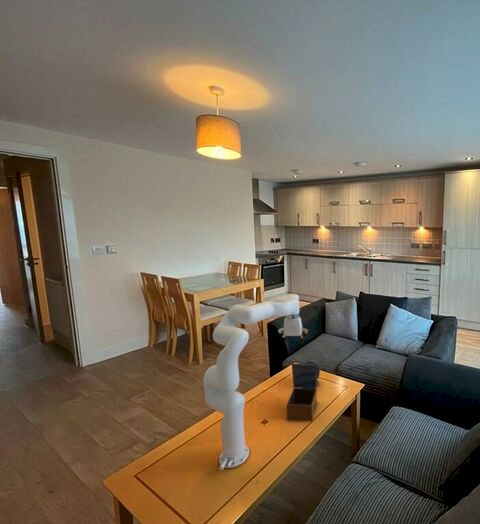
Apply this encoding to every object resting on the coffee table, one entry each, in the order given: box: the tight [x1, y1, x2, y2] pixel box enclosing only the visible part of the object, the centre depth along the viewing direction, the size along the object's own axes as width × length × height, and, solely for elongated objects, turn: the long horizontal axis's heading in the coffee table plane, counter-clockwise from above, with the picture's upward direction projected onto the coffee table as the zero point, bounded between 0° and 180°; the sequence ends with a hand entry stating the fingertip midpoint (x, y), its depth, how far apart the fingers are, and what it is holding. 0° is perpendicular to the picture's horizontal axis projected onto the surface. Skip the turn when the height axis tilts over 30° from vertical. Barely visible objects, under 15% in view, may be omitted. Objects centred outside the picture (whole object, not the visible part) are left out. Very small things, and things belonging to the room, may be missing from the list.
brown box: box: [286, 387, 318, 422], centre depth 160 cm, size 16×14×9 cm
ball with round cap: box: [303, 361, 321, 389], centre depth 185 cm, size 13×13×15 cm
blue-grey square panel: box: [291, 363, 318, 389], centre depth 164 cm, size 16×14×1 cm
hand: (293, 343), depth 166 cm, fingers open, 9 cm apart
